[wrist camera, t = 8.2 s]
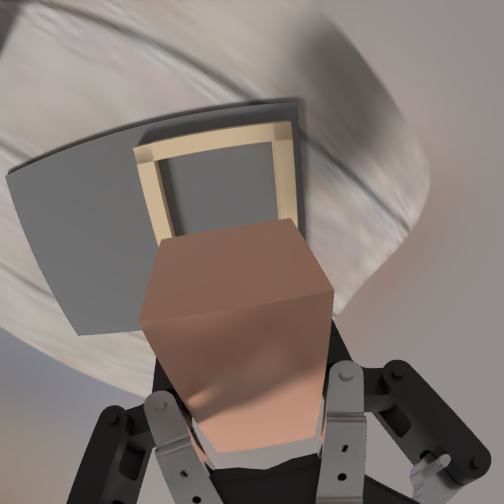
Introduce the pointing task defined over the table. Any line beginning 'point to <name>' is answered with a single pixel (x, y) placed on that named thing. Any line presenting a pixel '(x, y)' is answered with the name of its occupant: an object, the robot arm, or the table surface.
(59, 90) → the table surface
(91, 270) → the mat
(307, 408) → the terracotta block
